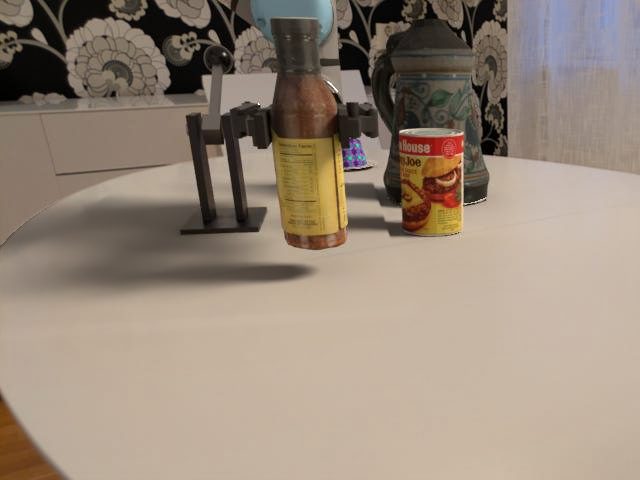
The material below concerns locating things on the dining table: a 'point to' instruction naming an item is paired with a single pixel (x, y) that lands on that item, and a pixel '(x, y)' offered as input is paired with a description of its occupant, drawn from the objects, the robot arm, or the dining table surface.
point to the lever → (215, 93)
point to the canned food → (431, 181)
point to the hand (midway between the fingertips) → (303, 132)
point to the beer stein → (429, 97)
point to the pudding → (354, 155)
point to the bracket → (209, 215)
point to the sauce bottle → (306, 140)
